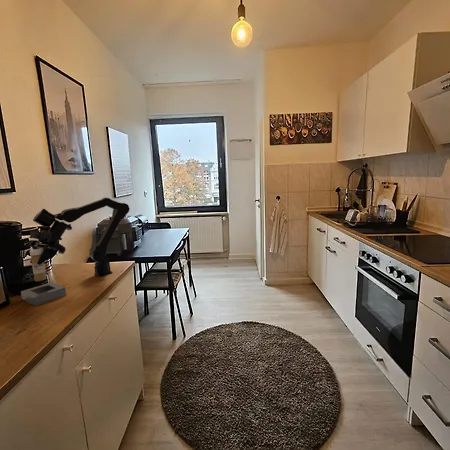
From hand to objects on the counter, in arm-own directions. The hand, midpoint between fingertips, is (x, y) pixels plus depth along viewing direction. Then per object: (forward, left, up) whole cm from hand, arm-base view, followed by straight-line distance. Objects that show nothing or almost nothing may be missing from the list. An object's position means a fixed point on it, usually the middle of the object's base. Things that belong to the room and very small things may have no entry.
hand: (34, 263), depth 121 cm
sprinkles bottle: (-1, 0, -8) cm, 8 cm away
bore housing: (+1, +7, -13) cm, 15 cm away
